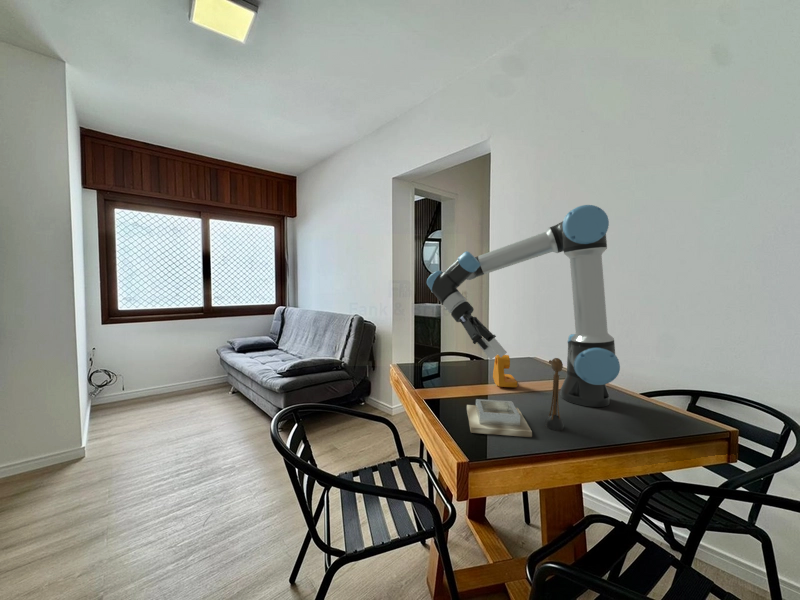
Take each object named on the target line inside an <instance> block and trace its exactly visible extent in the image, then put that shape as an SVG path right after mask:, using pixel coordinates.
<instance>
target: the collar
mask: <svg viewBox="0 0 800 600" xmlns="http://www.w3.org/2000/svg"><path fill="white" fill-rule="evenodd" d="M475 405H476V412H477V416H478V420H479V424H489V425H503V426H517V427H520V415H519V413H518V411H517V409H516V408H517V407H516V406H515V404H514V402H513V401H512V400H500V399H498V400H496V399H481V398H479V399H478V398H476V399H475ZM483 410H484V411H500V412H509V414H507V413H492V412H484V411H483Z"/></svg>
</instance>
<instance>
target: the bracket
mask: <svg viewBox="0 0 800 600" xmlns="http://www.w3.org/2000/svg"><path fill="white" fill-rule="evenodd" d="M510 368H511V358H510V355H509V354H505V355H503V356H502V357H500V356H499V355H496V356H495V357H494V363H493V370H492V371H493V372H492V379H493V382H494V384H495V385H496V387H498V388H503V387H504V388H517V387H518V381H517V380H516V379H515V377H514V376H513V375H512V374H510V373H509V374H508V373H505V369H506V370H509V369H510Z"/></svg>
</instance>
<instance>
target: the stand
mask: <svg viewBox="0 0 800 600" xmlns="http://www.w3.org/2000/svg"><path fill="white" fill-rule="evenodd" d="M515 408H516V409H517V411H518V413H519V415H520V427H517V426H503V425H489V424H479V420H478V416H477V412H476V404H466V413H467V414H466V415H467V418H468V425H469V430H470V433H471V434H472V433H473V434H484V435H496V436H497V435H501V436H510V437H511V436H514V437H523V438H524V437H525V438H532V437H533V431H532V430H531V427H530V425H529V423H528V422H527V420H526V419H525V417H524V415H523V414H522V412H521V410H520V409H519V407H515ZM483 411H484V410H483ZM484 412H492V413H507V414H509V412H500V411H484Z"/></svg>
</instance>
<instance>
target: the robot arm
mask: <svg viewBox="0 0 800 600" xmlns="http://www.w3.org/2000/svg"><path fill="white" fill-rule="evenodd" d="M609 220H610V219H609V216H608V214H607V213H606V212H605V211H604V209H602V208H601V207H599V206H597V205H592V204H583V205H579V206H577V207H574V208H573V209H572V210H570V211H568V213H567V214H566V215H565V216H564V218H563V220H562V221H560V222H558V223H557V224H555V225H553V226H549V227H548V228H547V230H546V231H544V232H542V233H538V234H536V235H533V236H531V237H530V236H529V237H527V238H525V239H521V240H519V241H516V242H514V243H510V244H507V245H505V246H503V247H500V248H497V249H494V250H491V251H489V252H485V253H483V254H480V255H478V256H475V255H473V254H472V253H471V252H470V251H468V250H467V251H464V252H462V254H461V255H458V256H457V258H456V259H455V261H453V262H452V263H451V264H450V265H449V266H448V268H446V269H445V271H442V270H436V271H434V272H433V273H431V274H430V275H429V276H428V278H427V279H426V285H427V287H428V288H429V290H430V291H431V293H432V294H433V295H434V296H435V297H436V299H438V301H439V302H440V303H441V304H442V306H443V307H444V311H447V312H448V313H449V314H450V315H451V317H452V318H453V319H454V320H455V322H456V323H461V324H462V326H463V328H464V330H465V331H466V332H467V334H468V336H469V338H470V339H471V341H472V344H474V345H476V344H477V345H478V347H479V348H480V349H481V350H482V352H483V353H484V354H485V355H486V356H487V358H488V359H489V360H490V361H491V360H493V359H495V356H496V355H499V356H500V357H502V356H503V355H507V353H508V352H507V350H505V348H504V347H503V346H502V345H501V344H500V342H498V340H497V339H496V337H497V336H496V334H493V332H491V331H490V330H489V329H488V328H487V327H486V326H485V325H484V323H482V322H481V321H480V320H479V319H478V317H477V316H472V313H474V307H473V306H472V304H471V303H470V301H467V299H466V298H465V297H464V295H463V293H461V292H460V290H458V288H459V287H460V286H461V285H463V283H464V282H465V281H466V280H468V281H470V280H474V279H476V278H478V277H482V276H483V275H487V274H490V273H493V272H496V271H499V270H502V269H504V268H509V267H511V266H514V265H516V264H517V265H518V264H520V263H523V262H526V261H529V260H532V259H535V258H538V257H541V256H544V255H547V254H550V253H552V252H553V253H555V254H560V253H562V252H563V255H565V256H566V257H568V259H569V264H570V266H569V267H570V278H571V290H572V300H573V303H572V304H573V316H574V327H575V328H574V329H575V333H571V334H570V335H569V336H568V340H567V361H566V376H565V378H564V380H563V382H562V384H561V387H560V394H559V396H560V397H561V398H562V399H563V400H565V401H566V402H569V403H572V404H575V405H578V406H584V407H591V408H592V407H593V408H603V407H607V406H609V405H610V398H611V397H610V394H609V391H608V387H607V384H610V383H611V382H613V381H614V380H615V379H616V378H617V377H618V376H619V373H620V370H621V365H620V361H619V358H618V356H617V355H616V346H615V337H613V336H612V335H610V334H609V332H608V322H607V321H608V320H607V307H606V296H605V295H606V293H605V281H604V280H605V279H604V268H603V266H604V265H603V254H604V252H605V251H607V249H608V244H607V242H608V241H607V232H608V230H609V226H610V224H609V223H610V222H609Z"/></svg>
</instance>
